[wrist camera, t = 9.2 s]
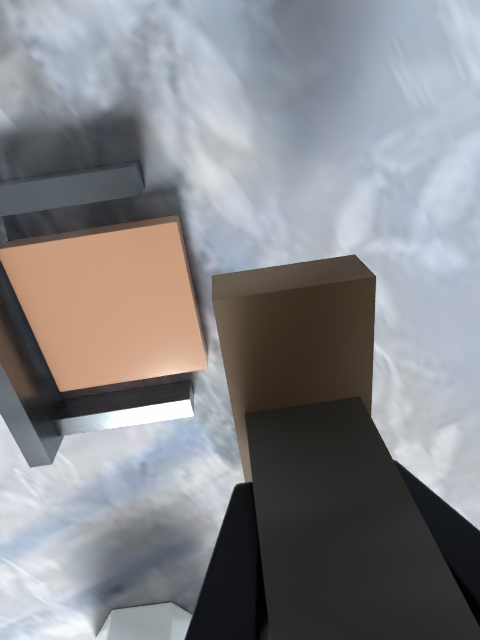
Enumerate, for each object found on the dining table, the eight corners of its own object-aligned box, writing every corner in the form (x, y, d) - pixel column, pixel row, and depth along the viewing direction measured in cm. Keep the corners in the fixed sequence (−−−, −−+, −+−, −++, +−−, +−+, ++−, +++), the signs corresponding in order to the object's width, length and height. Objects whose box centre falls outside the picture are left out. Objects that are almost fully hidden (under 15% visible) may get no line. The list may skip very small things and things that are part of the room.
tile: (179, 211, 17) (176, 221, 15) (207, 350, 20) (208, 368, 19) (13, 237, 17) (-5, 249, 15) (70, 371, 20) (60, 391, 19)
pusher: (354, 254, 8) (630, 540, 3) (352, 504, 12) (469, 830, 7) (212, 275, 8) (216, 602, 3) (254, 518, 12) (292, 855, 7)
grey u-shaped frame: (136, 153, 15) (122, 164, 12) (195, 399, 21) (193, 442, 18) (-61, 183, 15) (-117, 200, 12) (52, 421, 21) (30, 467, 18)
